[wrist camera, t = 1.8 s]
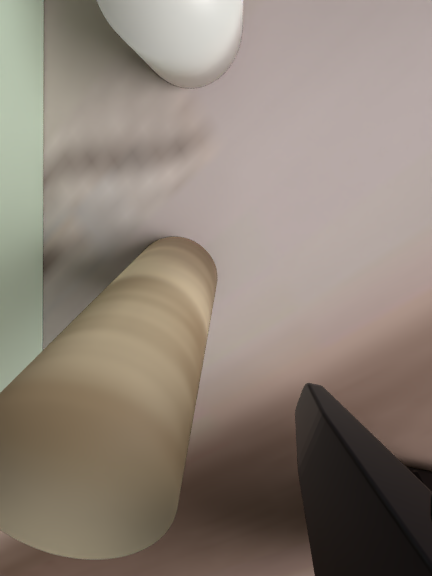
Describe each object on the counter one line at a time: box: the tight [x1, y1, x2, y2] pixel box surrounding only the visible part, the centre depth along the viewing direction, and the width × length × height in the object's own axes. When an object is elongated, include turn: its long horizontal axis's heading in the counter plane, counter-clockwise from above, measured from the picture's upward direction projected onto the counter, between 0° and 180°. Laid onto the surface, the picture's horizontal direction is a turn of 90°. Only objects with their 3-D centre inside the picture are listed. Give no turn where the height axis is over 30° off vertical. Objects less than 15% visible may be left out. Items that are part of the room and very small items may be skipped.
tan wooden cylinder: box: [0, 237, 217, 560], centre depth 10 cm, size 4×4×10 cm
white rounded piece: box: [96, 0, 243, 88], centre depth 9 cm, size 4×4×4 cm
